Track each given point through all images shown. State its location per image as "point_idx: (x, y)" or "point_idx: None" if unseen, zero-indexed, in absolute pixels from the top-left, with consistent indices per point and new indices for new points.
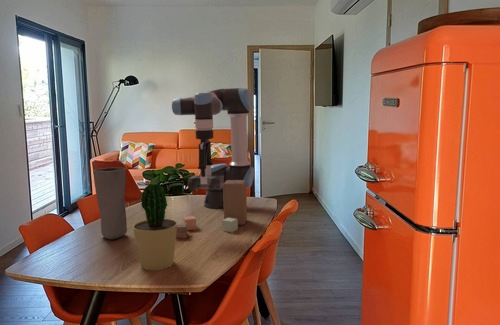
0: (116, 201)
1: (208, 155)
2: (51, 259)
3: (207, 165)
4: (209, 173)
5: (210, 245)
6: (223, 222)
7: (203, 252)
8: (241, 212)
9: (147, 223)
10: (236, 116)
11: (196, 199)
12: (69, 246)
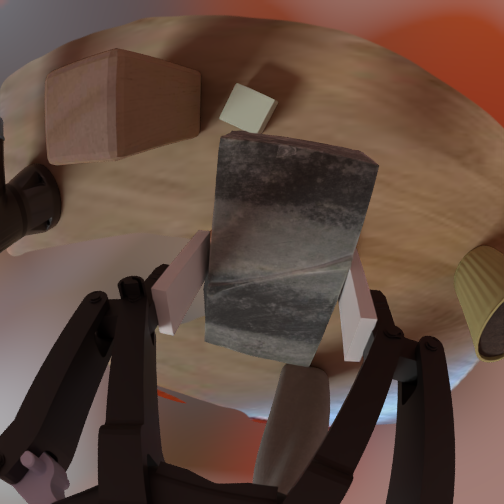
0: (322, 435)
1: (146, 391)
2: (392, 407)
3: (159, 314)
4: (193, 263)
5: (400, 164)
6: (259, 131)
7: (445, 183)
8: (186, 75)
9: (485, 343)
10: None
11: (25, 251)
12: (340, 408)
